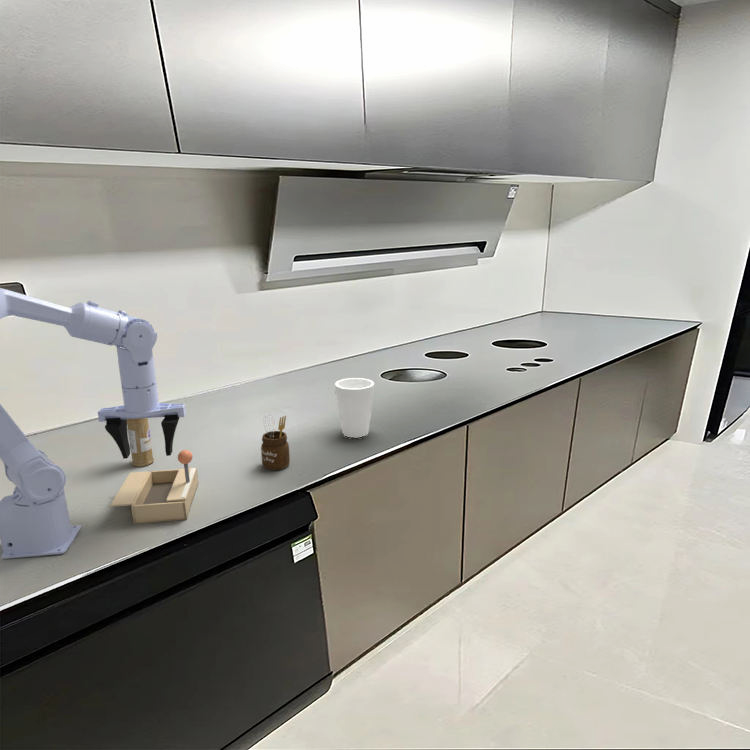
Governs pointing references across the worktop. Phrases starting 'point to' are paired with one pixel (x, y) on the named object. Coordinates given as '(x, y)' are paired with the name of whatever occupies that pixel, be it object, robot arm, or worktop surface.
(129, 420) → the sprinkles bottle
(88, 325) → the robot arm
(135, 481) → the carton
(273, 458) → the utensil holder
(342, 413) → the foam cup
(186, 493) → the flap
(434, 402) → the worktop surface
